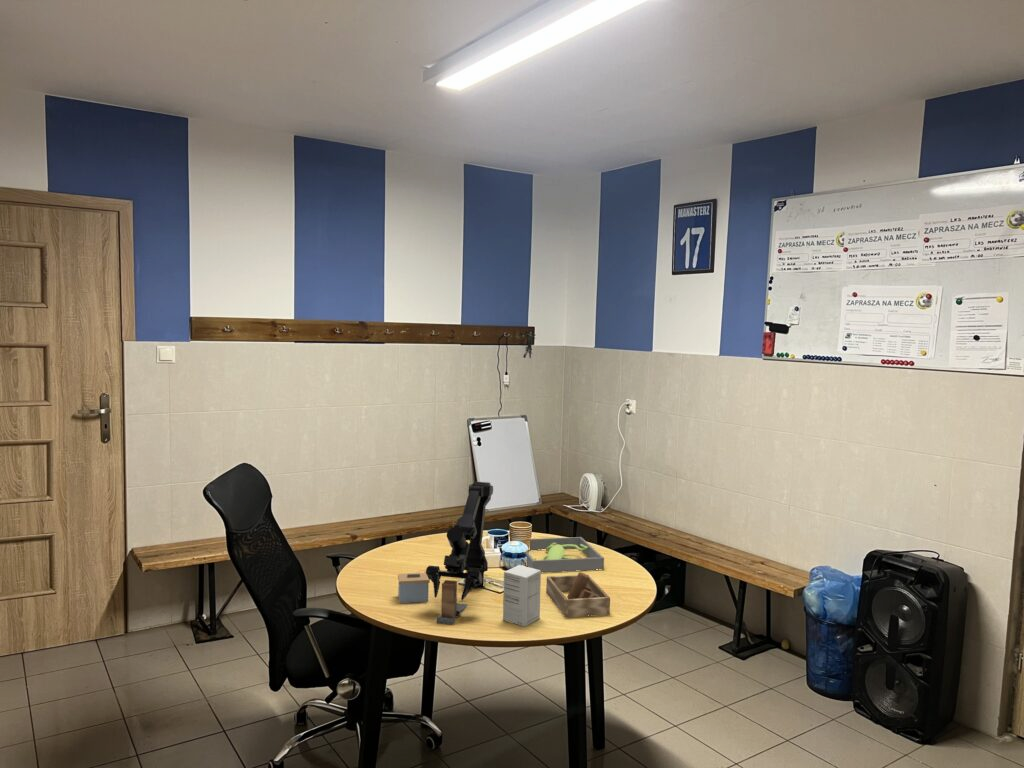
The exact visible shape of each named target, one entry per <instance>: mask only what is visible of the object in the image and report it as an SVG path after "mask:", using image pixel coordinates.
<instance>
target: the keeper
mask: <svg viewBox="0 0 1024 768" xmlns="http://www.w3.org/2000/svg"><path fill="white" fill-rule="evenodd" d="M461 615H462V612H461V610H460V609H456V616H458V617H457V618H460V617H461ZM435 618H436V619H435V620H436V622H437V623H436V624H443V623H444V625H452V624H454V625H455V623H456V618H455V617H449V616H441V614H440V615H439V614H437V616H436V617H435Z"/></svg>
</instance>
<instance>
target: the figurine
mask: <svg viewBox="0 0 1024 768" xmlns="http://www.w3.org/2000/svg"><path fill="white" fill-rule="evenodd" d="M580 546H581V547H583V548H579V547H578V546H577V545H573V544H566V545H559V544H557V545H556V543H552V544H551V545H550V546H548V547H547V548H546V550H545V551H546V552H547V551H548V550H549V551H548V552H547V555H545V556H543V557H542V558H541V559H540V560H554V559H573V558H572V557H568V556H565V555H564V554H565V549H564V547H575V548H576V550H578V551H580V552H582V551H584V550H587V548H588V547H587V546H584V545H582V544H580ZM533 559H534V560H537V558H533Z"/></svg>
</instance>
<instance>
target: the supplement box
mask: <svg viewBox="0 0 1024 768" xmlns="http://www.w3.org/2000/svg"><path fill="white" fill-rule="evenodd" d="M541 580H542V573H541V570H538V569H534V568H530V567H527V566H526V565H522V564H518V565H515V566H514V567H511V568H510V569H507V570H505V571H504V572H503V593H502V594H503V601H502V606H503V607H502V620H503V621H504V620H505V622H508V623H511V624H514V623H515V625H517V624H518V626H520V627H521V626H522V627H524V626H526V627H528V626H529V625H531V624H533V623H534V622H536V621H537V620H538V619H540V616H541V614H540V613H541V588H542V587H541V584H542V581H541Z"/></svg>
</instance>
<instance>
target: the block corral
mask: <svg viewBox="0 0 1024 768" xmlns="http://www.w3.org/2000/svg"><path fill="white" fill-rule="evenodd" d="M577 575H578V574H575V575H574V574H571V575H569V574H568V575H554V576H553V575H552V576H551V575H550V576H546V586H545V587H546V588H545V590H546V591H545V592H546V594H547V595H548V597H549V599H550V600H551V599H552V600H551V601H552V602H553V604H554V603H555V604H554V605H555V607H556V608H557V609H558V610H559V611H560V613H561V615H562V616H563V615H564V616H563V617H564V618H565V617H568V618H579V617H578V616H584V617H592V616H591V615H599V616H609V615H610V613H611V611H610V610H611V609H610V607H611V605H610V604H611V597H610V596H609V595H608V594H607V592H606V591H604V590H603V589H602V588H601V587H600V585H598V584H597V582H596V581H595V580H594V579H593V578H592V577H591V576H590V575H589V574H587V575H588V576H589V577H590V578H589V580H588V583H587V585H586V588H589V589H591V591H590V592H593V593H596V594H598V595H599V596H600V597H598V598H580V599H568V598H567V597H566V596H565V594H564V593H569V592H570V590H571V588H572V586H573V584H574V582H575V580H576V577H577ZM562 592H563V593H562ZM608 614H609V615H608ZM588 615H589V616H588Z"/></svg>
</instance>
